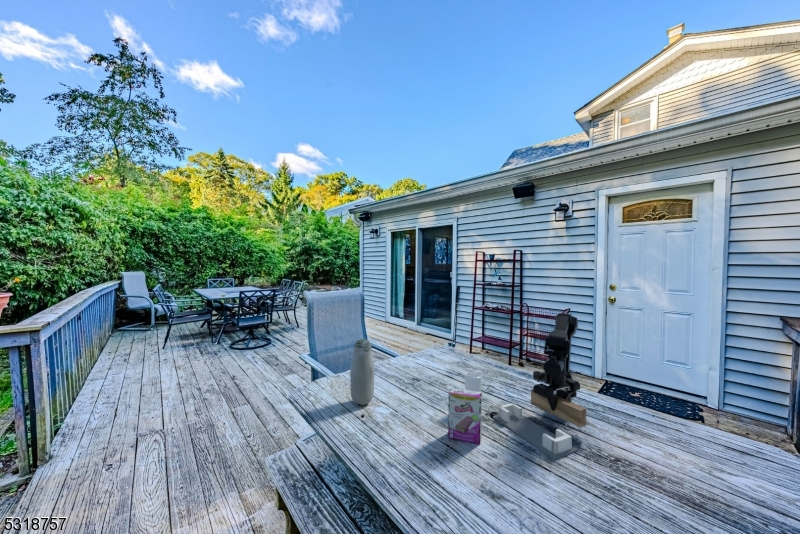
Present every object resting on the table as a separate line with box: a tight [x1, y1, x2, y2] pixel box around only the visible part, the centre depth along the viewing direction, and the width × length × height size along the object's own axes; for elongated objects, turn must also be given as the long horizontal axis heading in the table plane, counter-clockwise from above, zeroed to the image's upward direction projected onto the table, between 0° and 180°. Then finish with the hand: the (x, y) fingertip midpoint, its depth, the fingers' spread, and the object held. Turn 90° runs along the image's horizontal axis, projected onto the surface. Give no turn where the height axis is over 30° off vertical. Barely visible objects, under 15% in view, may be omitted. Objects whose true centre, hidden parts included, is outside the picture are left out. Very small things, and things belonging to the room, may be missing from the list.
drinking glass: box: [464, 371, 482, 392], centre depth 126 cm, size 7×7×15 cm
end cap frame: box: [492, 402, 579, 460], centre depth 110 cm, size 11×28×5 cm, turn 24°
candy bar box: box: [447, 387, 483, 445], centre depth 106 cm, size 11×5×16 cm, turn 71°
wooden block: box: [530, 388, 587, 428], centre depth 115 cm, size 4×20×6 cm, turn 29°
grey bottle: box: [349, 338, 375, 406], centre depth 132 cm, size 10×10×28 cm
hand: (556, 409), depth 115 cm, fingers closed on wooden block, 4 cm apart
